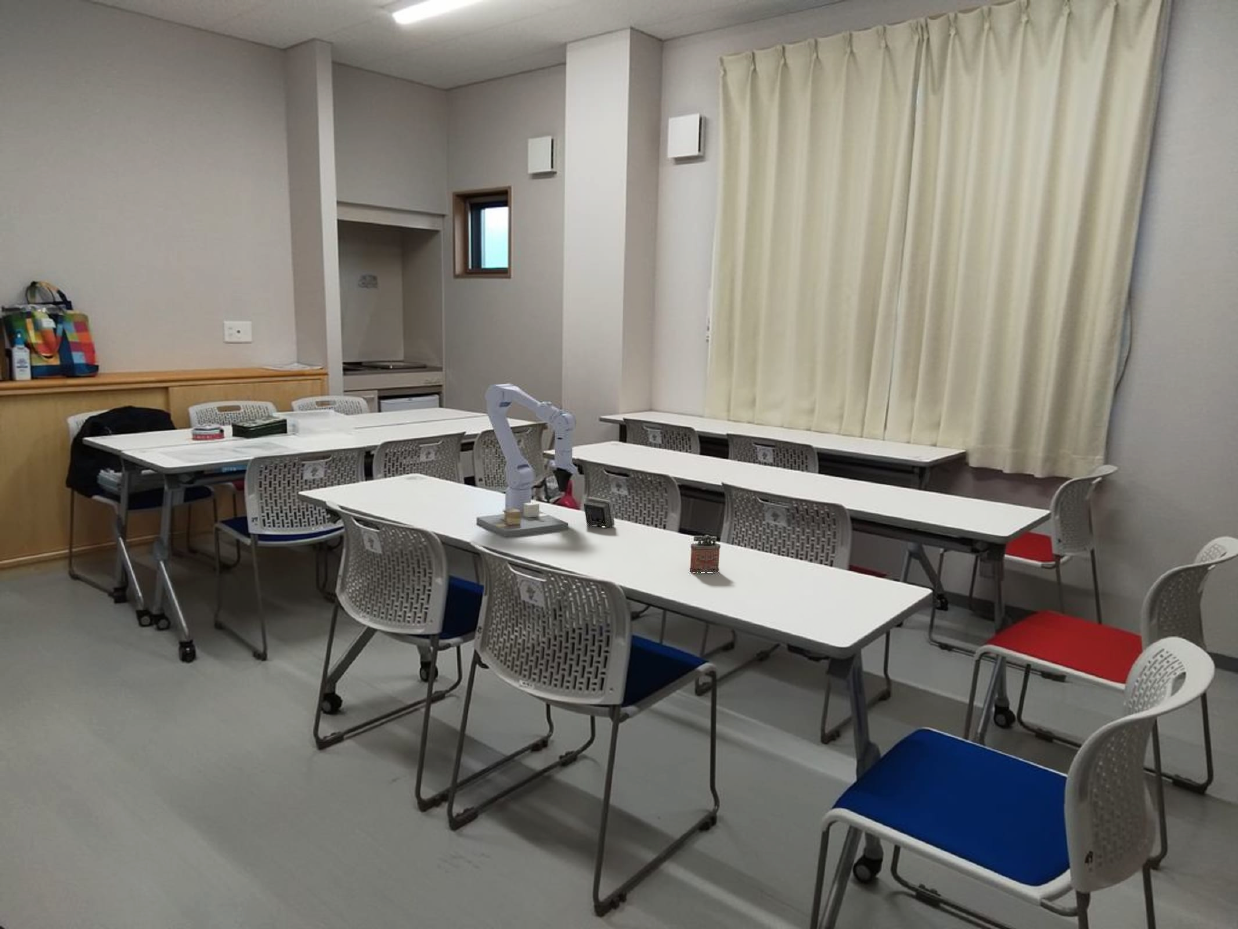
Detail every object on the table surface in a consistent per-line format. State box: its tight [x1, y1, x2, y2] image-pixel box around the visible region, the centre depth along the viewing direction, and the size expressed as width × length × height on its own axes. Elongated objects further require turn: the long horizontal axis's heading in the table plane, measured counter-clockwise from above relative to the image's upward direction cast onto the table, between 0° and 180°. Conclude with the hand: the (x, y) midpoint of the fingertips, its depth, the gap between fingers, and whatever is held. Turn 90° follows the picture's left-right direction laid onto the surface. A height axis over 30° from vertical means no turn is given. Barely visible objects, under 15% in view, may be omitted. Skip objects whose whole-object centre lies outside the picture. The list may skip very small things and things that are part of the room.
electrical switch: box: [583, 496, 615, 529], centre depth 265 cm, size 9×5×9 cm, turn 57°
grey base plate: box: [476, 510, 569, 539], centre depth 262 cm, size 20×22×2 cm
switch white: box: [524, 501, 540, 517], centre depth 267 cm, size 3×4×4 cm
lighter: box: [689, 534, 721, 573], centre depth 221 cm, size 8×3×10 cm, turn 100°
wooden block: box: [504, 509, 521, 525], centre depth 256 cm, size 3×4×4 cm
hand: (562, 491), depth 272 cm, fingers closed
